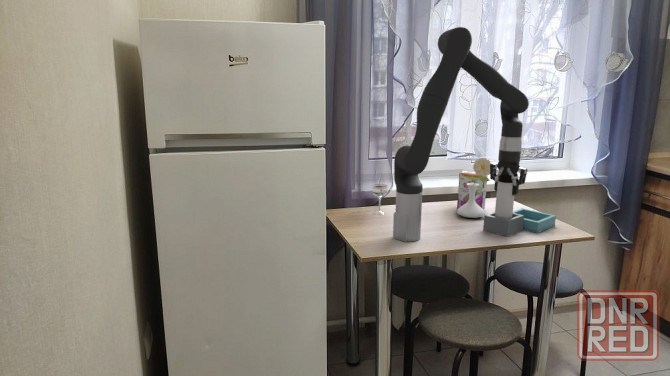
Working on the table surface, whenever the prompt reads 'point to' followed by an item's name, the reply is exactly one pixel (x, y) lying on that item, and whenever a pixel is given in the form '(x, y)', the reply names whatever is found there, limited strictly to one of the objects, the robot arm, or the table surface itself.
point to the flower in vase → (471, 206)
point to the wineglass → (379, 193)
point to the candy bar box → (464, 190)
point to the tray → (536, 220)
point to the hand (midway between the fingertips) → (505, 193)
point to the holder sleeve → (503, 224)
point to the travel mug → (504, 197)
